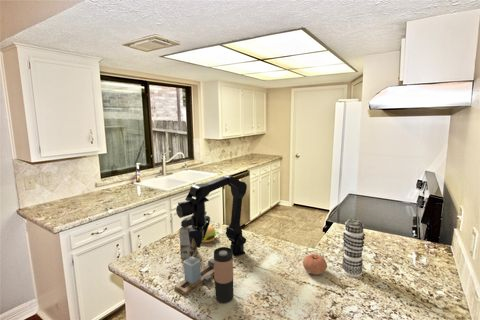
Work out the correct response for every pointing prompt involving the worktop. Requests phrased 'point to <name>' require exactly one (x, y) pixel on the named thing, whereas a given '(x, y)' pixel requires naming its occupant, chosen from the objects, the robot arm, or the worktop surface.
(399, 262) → the worktop surface
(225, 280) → the travel mug
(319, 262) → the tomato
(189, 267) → the block
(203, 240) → the hamburger
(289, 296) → the worktop surface
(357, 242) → the grey white banded cylinder
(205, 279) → the beam
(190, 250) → the coffee box
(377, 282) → the worktop surface
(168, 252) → the worktop surface
